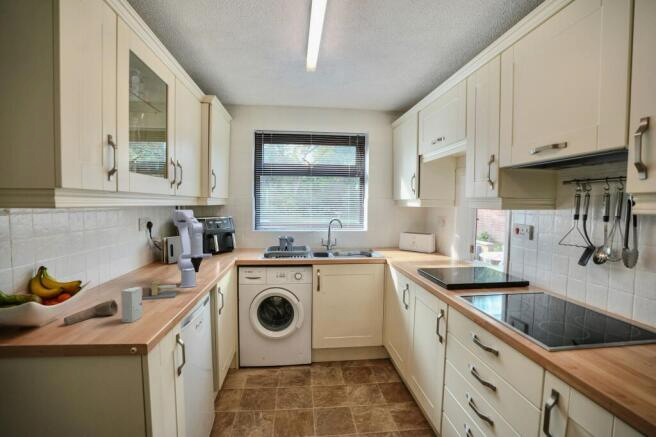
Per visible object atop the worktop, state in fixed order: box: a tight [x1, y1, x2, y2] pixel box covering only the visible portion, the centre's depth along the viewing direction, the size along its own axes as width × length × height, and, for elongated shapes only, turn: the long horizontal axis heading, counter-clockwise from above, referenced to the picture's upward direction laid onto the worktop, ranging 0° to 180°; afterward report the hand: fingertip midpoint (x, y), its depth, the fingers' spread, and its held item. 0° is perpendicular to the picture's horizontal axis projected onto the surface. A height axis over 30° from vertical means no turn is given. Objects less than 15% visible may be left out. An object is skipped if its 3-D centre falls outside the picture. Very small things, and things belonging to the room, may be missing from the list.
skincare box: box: [120, 286, 143, 323], centre depth 113 cm, size 6×4×12 cm
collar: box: [151, 279, 162, 296], centre depth 143 cm, size 2×6×6 cm, turn 15°
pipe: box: [63, 299, 119, 326], centre depth 114 cm, size 6×17×10 cm
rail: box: [142, 284, 180, 301], centre depth 143 cm, size 15×10×5 cm, turn 105°
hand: (196, 272), depth 150 cm, fingers closed
